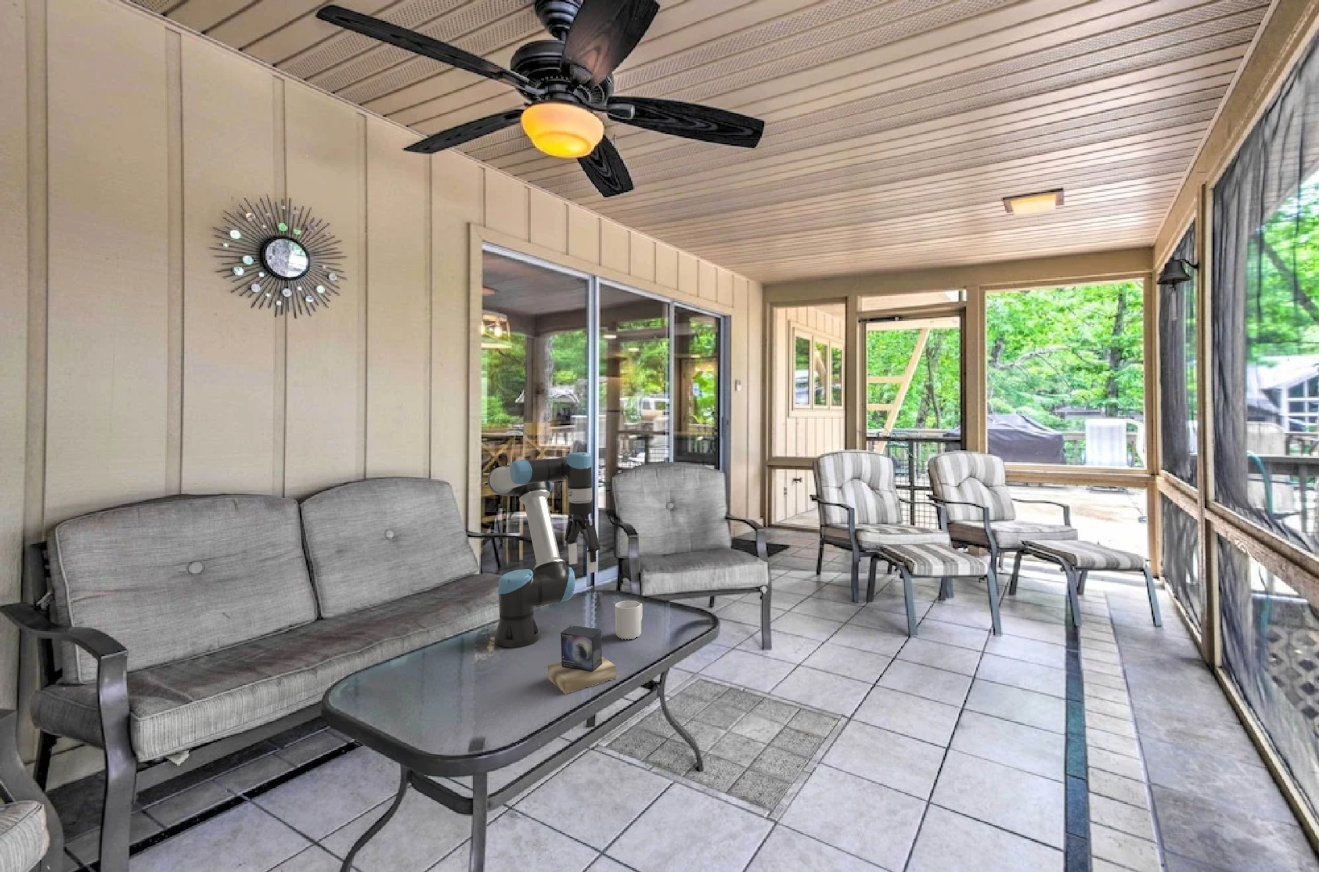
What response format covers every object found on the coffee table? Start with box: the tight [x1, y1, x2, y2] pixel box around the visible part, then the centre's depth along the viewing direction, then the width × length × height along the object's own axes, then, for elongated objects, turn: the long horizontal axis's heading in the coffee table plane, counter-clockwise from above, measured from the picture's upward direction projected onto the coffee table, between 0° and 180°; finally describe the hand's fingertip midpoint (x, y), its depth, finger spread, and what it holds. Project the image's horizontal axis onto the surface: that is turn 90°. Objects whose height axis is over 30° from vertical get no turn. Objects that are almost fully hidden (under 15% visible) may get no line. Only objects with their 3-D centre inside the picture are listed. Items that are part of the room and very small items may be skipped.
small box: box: [560, 625, 603, 672], centre depth 176 cm, size 11×6×10 cm, turn 68°
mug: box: [614, 600, 643, 641], centre depth 211 cm, size 12×9×11 cm
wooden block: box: [547, 656, 617, 695], centre depth 176 cm, size 12×16×4 cm
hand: (582, 567), depth 192 cm, fingers open, 13 cm apart
